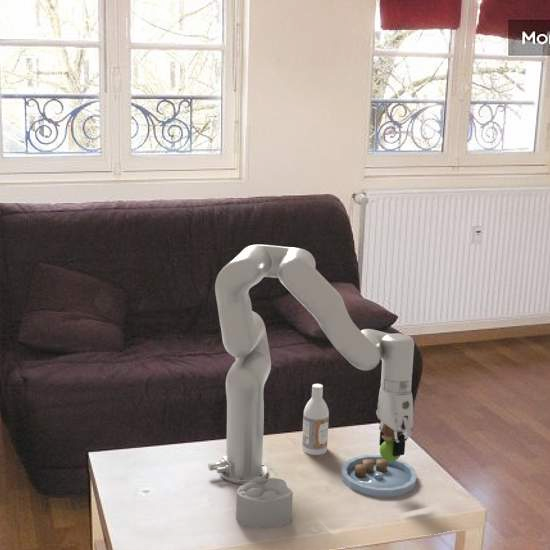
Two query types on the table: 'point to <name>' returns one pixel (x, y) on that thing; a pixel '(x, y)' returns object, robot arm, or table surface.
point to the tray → (380, 477)
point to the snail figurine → (388, 443)
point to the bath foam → (315, 423)
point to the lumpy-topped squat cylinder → (264, 503)
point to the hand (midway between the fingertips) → (391, 449)
